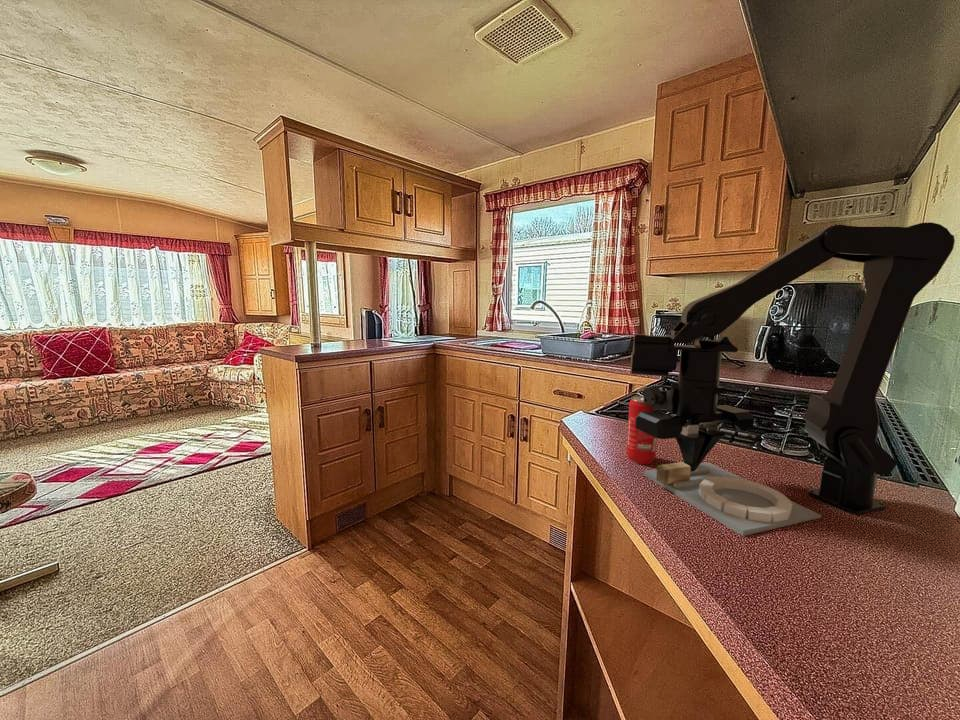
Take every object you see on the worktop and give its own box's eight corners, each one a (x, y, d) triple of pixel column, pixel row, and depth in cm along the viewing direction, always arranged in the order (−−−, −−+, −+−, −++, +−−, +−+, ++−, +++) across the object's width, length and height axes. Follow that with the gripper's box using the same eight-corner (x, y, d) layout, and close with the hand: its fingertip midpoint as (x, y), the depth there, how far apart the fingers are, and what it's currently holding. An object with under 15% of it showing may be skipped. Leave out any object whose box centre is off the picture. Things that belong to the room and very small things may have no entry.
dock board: (707, 466, 73) (708, 455, 72) (820, 520, 55) (822, 507, 54) (643, 475, 69) (644, 464, 69) (742, 536, 51) (744, 522, 50)
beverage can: (624, 461, 75) (627, 400, 73) (627, 452, 79) (631, 394, 77) (653, 467, 72) (658, 403, 70) (656, 457, 77) (660, 397, 75)
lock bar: (681, 476, 66) (682, 462, 66) (689, 480, 64) (690, 466, 64) (656, 479, 65) (657, 465, 64) (664, 484, 63) (665, 469, 62)
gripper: (704, 367, 73) (696, 448, 75) (617, 372, 68) (612, 458, 70) (761, 379, 63) (751, 471, 65) (663, 385, 57) (656, 485, 60)
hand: (690, 470), depth 65 cm, fingers closed
